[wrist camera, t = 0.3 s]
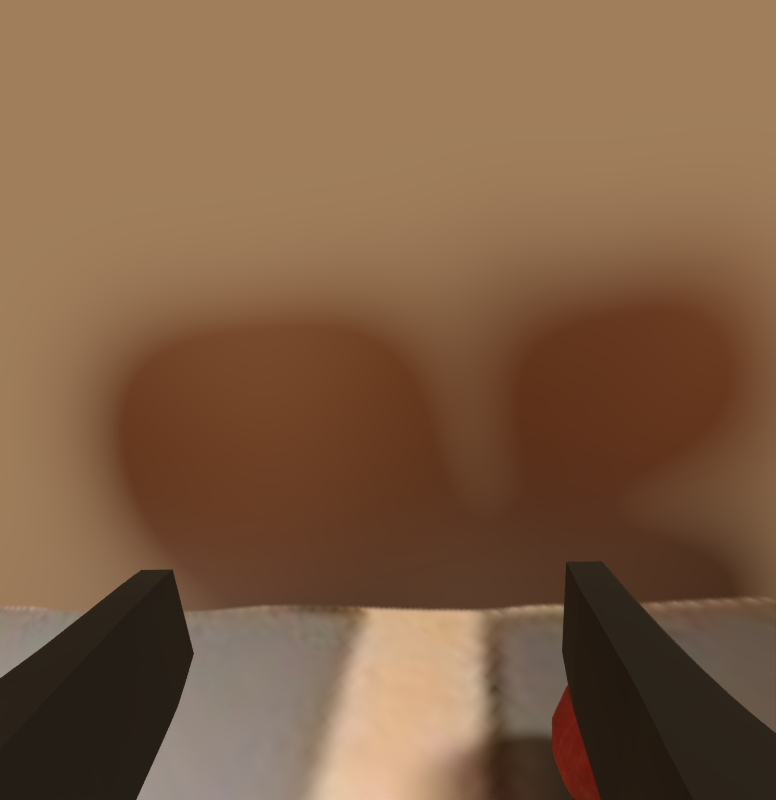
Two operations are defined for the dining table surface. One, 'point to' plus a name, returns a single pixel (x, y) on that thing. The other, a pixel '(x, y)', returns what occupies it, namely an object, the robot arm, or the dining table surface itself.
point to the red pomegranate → (571, 752)
